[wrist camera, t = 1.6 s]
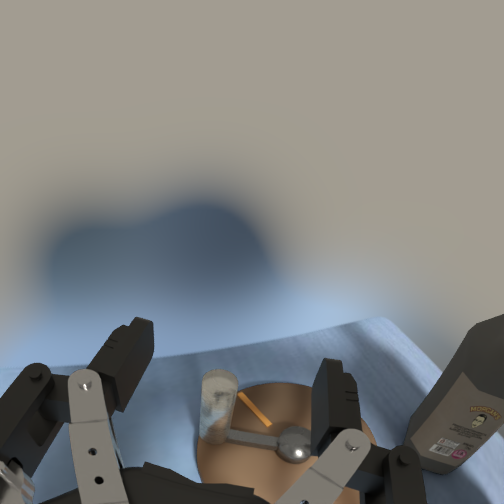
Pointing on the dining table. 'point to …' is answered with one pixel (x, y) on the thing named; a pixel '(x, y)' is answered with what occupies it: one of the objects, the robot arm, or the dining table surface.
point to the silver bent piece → (218, 431)
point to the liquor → (462, 402)
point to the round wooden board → (261, 460)
